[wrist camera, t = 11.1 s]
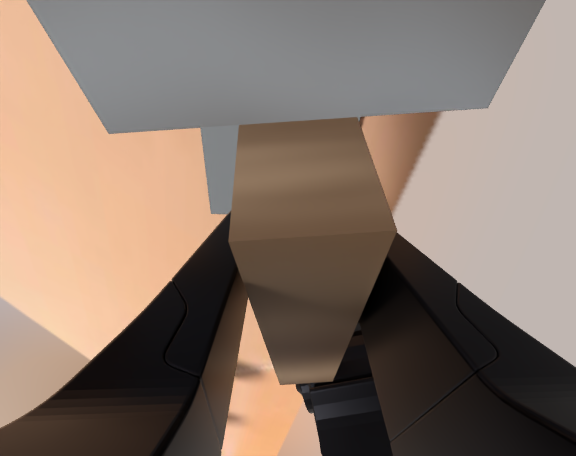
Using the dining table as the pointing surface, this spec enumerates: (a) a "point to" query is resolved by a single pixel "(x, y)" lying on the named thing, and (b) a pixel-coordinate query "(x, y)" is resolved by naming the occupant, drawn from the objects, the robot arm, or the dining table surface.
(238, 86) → the grey brown t-shaped block
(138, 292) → the dining table surface
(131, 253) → the dining table surface
